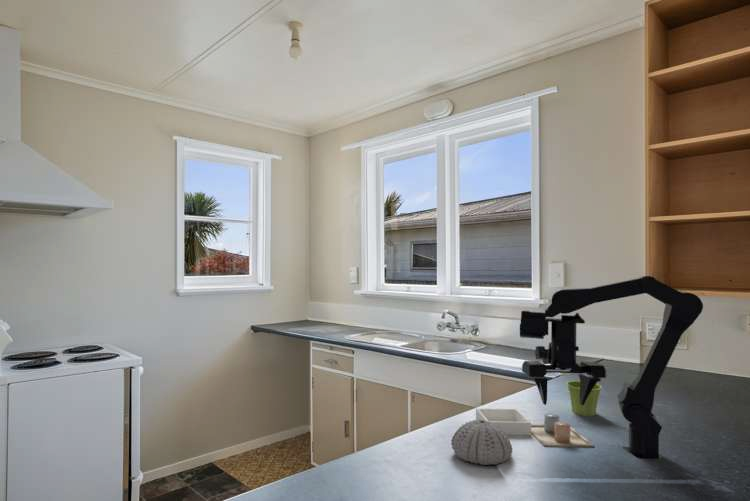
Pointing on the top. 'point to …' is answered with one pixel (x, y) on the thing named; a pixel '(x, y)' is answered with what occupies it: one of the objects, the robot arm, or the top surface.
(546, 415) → the slate pebble
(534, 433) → the parts tray
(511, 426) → the square storage bin
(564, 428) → the peach rounded cylinder
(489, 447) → the sea urchin shell
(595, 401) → the plant pot
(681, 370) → the top surface
